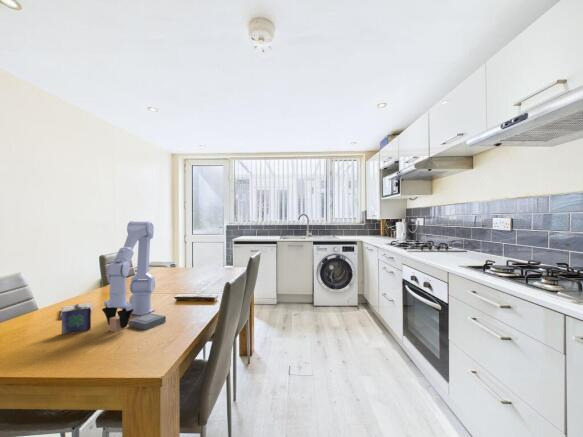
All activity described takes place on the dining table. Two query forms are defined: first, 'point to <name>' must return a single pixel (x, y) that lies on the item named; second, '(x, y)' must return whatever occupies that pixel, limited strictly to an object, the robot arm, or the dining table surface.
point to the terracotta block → (115, 324)
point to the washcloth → (74, 308)
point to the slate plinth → (147, 321)
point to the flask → (76, 319)
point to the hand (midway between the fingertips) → (117, 325)
